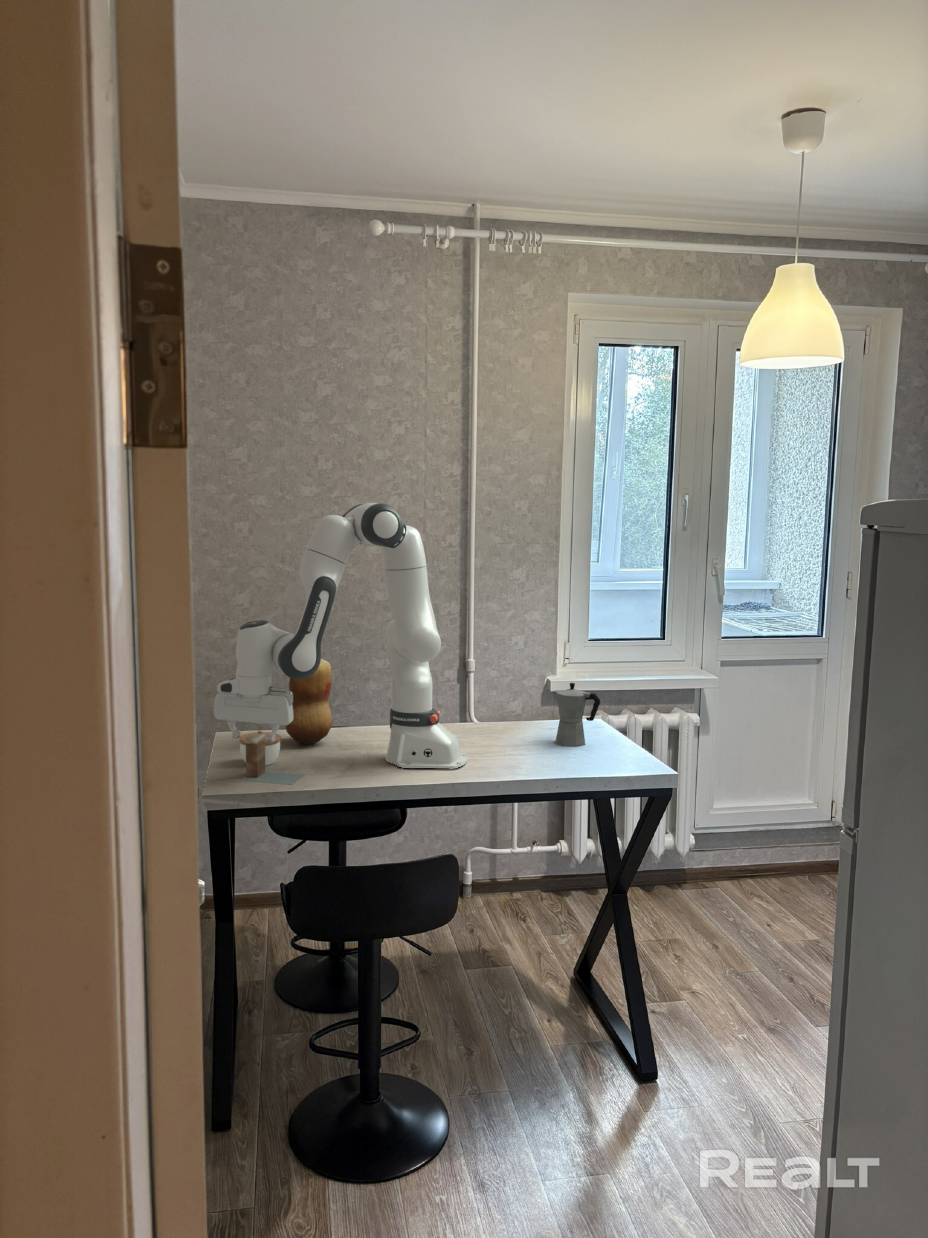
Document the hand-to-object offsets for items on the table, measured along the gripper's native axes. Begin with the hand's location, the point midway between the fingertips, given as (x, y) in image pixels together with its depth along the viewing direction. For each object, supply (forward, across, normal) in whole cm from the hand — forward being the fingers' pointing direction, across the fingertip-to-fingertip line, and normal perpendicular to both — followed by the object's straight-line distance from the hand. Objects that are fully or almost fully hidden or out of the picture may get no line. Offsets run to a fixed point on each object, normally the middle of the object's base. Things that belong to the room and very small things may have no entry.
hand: (253, 739), depth 235 cm
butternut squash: (+10, -2, -35) cm, 37 cm away
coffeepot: (+8, -76, -56) cm, 95 cm away
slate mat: (+10, -6, +1) cm, 11 cm away
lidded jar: (+10, +3, -11) cm, 15 cm away
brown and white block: (+9, -1, 0) cm, 9 cm away
